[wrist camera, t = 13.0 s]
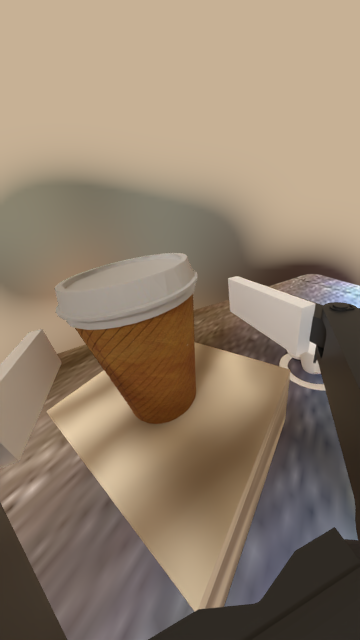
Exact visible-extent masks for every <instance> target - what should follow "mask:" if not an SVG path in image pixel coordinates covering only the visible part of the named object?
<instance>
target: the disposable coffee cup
mask: <svg viewBox="0 0 360 640" xmlns="http://www.w3.org/2000/svg"><path fill="white" fill-rule="evenodd" d="M196 282H197V273H196V271H194V270H192V268H191V265H190V263H189V260H188V258H187V256H186V255H185V254H182V253H164V254H155V255H149V256H143V257H137V258H132V259H127V260H123V261H119V262H115V263H111V264H107V265H104V266H101V267H97V268H94V269H91V270H88V271H85V272H82V273H80V274H77V275H74V276H72V277H70V278H67V279H66V280H64V281H62V282H60V283H59V284H58V285H56V287H55V291H56V296H57V300H58V304H59V305H58V306H57V307H56V313H57V314H58V316H59V317H60V318H62V319H64V320H66V321H67V323H68V324H69V325H70V326H72V327H75V329H76V330H77V331H78V333H79V334H80V336H81V338H82V339H83V341H84V342H85V343H86V345H87V346H88V348H89V349H90V350H91V352H92V353H93V355H94V356H95V358H96V359H97V360H98V362H99V364H100V365H101V366H102V368H103V369H104V370H105V372H106V374H107V375H108V376H109V377H110V379H111V381H112V382H113V384H114V385H115V387H116V388H117V390H118V391H119V392H120V394H121V395H122V397H123V398H124V400H125V401H126V402H127V404H128V405H129V407H130V408H131V410H132V411H133V413H134V414H135V416H136V417H137V418H138V419H140V420H141V421H144V422H147V423H151V424H162V423H166V422H170V421H172V420H175V419H177V418H178V417H180V416H181V415H182V414H184V413H185V412H186V411H187V410H188V409H189V407H190V406H191V405H192V403H193V401H194V399H195V396H196V375H195V343H194V314H193V292H194V290H195V283H196Z"/></svg>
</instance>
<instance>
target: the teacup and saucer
mask: <svg viewBox="0 0 360 640" xmlns="http://www.w3.org/2000/svg"><path fill="white" fill-rule="evenodd" d="M315 349H316V344H314V343H312V342H310V343H309V349H308V352H305V353H303V354H300V355H298V356H295V355H294V354H292V353H291V352H289V351H288V350H287V352H288V354H286V355H284V356H283V357H282V358H281V360H280V363H279V365H280V367H283V368H287V369H288V362H289V360H291V359H292V358H295V359H297V360H301V364H302V367H303V369H304V370H305V371H306V372H308V373H310V374H321V371H320V368H319V364H318V360H316V363H313V360H314V355H315ZM290 380H291V381H293V382H294V383H296V384H298V385H300V386H303V387H306V388H309V389H314V390H322V391H326V390H325V386H324V384H312V383H308V382H305V381H302V380H300V379H298V378H297V377H295V376H294V375H293V374H292V373H291V372H290Z"/></svg>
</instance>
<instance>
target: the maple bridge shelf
mask: <svg viewBox="0 0 360 640" xmlns="http://www.w3.org/2000/svg"><path fill="white" fill-rule="evenodd" d="M194 343H195V375H196V396H195V399H194V401H193V403H192V405H191V406H190V407H189V409H188V410H187V411H186V412H185V413H184V414H182V415H181V416H180V417H178V418H177V419H175V420H172V421H170V422H166V423H162V424H151V423H147V422H144V421H141V420H140V419H138V418H137V417H136V416H135V414H134V413H133V411H132V410H131V408H130V407H129V405H128V404H127V402H126V401H125V400H124V398H123V397H122V395H121V394H120V392H119V391H118V390H117V388H116V387H115V385H114V384H113V382H112V381H111V379H110V377H109V376H108V375H107V374H106V372H105V370H104V371H102V372H101V373H99V374H98V375H97V376H95V377H94V378H92V379H91V380H90V381H88V382H87V383H85V384H84V385H83V386H81V387H80V388H78V389H77V390H76V391H74V392H73V393H71V394H70V395H69V396H67V397H66V398H64V399H63V400H62V401H60V402H59V403H58V404H56V405H55V406H53V407H52V408H51V409H49V410H48V411H46V412H47V413H48V414H49V416H50V417H51V419H52V420H53V421H54V423H55V424H56V425H57V427H58V428H59V429H60V431H61V432H62V433H63V435H64V436H65V437H66V439H67V440H68V442H69V443H70V444H71V446H72V447H73V448H74V450H75V451H76V452H77V454H78V455H79V456H80V458H81V459H82V460H83V462H84V463H85V465H86V466H87V467H88V468H89V470H90V471H91V472H92V474H93V475H94V476H95V478H96V479H97V480H98V482H99V483H100V484H101V486H102V487H103V488H104V490H105V491H106V493H107V494H108V495H109V497H110V498H111V499H112V501H113V502H114V503H115V505H116V506H117V507H118V509H119V510H120V511H121V513H122V514H123V515H124V517H125V518H126V519H127V521H128V522H129V523H130V525H131V526H132V527H133V529H134V530H135V532H136V533H137V534H138V536H139V537H140V538H141V540H142V541H143V542H144V544H145V545H146V546H147V548H148V549H149V550H150V552H151V553H152V554H153V556H154V557H155V558H156V560H157V561H158V562H159V564H160V565H161V566H162V568H163V569H164V571H165V572H166V573H167V575H168V576H169V577H170V579H171V580H172V581H173V583H174V584H175V585H176V587H177V588H178V590H179V591H180V592H181V594H182V595H183V596H184V598H185V599H186V601H187V602H188V603H189V605H190V606H191V607H192V609H193V610H194V611H197V610H198V609H207V608H217V607H224V605H225V602H226V599H227V596H228V593H229V590H230V587H231V584H232V581H233V578H234V574H235V571H236V568H237V565H238V562H239V559H240V556H241V553H242V550H243V547H244V544H245V541H246V538H247V535H248V532H249V529H250V526H251V523H252V520H253V516H254V513H255V510H256V507H257V504H258V501H259V498H260V495H261V492H262V489H263V486H264V483H265V480H266V477H267V474H268V471H269V468H270V465H271V462H272V458H273V455H274V452H275V449H276V446H277V443H278V440H279V437H280V434H281V431H282V428H283V425H284V422H285V416H286V407H287V398H288V389H289V380H290V371H291V370H290V369H287V368H283V367H280V366H276V365H273V364H269V363H266V362H262V361H259V360H255V359H252V358H248V357H245V356H241V355H238V354H234V353H231V352H227V351H224V350H220V349H217V348H213V347H210V346H206V345H203V344H199V343H196V342H194Z"/></svg>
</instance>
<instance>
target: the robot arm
mask: <svg viewBox="0 0 360 640" xmlns="http://www.w3.org/2000/svg"><path fill="white" fill-rule="evenodd" d="M228 285H229V301H230V311H231V312H232V313H234V314H235V315H237V316H238V317H239V318H241V319H242V320H244V321H245V322H247V323H248V324H250V325H251V326H253V327H254V328H256V329H257V330H259V331H260V332H261V333H263V334H264V335H266V336H267V337H269V338H270V339H272V340H273V341H275V342H276V343H278V344H279V345H281V346H282V347H284V348H285V349H286V350H288V351H289V352H291V353H292V354H294V355H295V356H298V355H300V354H303V353H305V352H308V349H309V343H310V342H312V343H314V344H316V349H315V355H314V360H313V363H316V360H318V364H319V368H320V371H321V375H322V379H323V382H324V386H325V390H326V394H327V397H328V401H329V405H330V409H331V412H332V416H333V420H334V423H335V427H336V431H337V435H338V438H339V442H340V446H341V450H342V453H343V457H344V461H345V464H346V468H347V472H348V476H349V479H350V483H351V487H352V491H353V494H354V499H355V506H356V517H355V521H356V530H357V536H358V540H347V539H345V540H344V539H343V538H342V536H341V535H340V534H339V532H338V531H337V530H336V528H335V527H334V528H333V529H331V530H329V531H328V532H326V533H324V534H323V535H321V536H319V537H318V538H316V539H314V540H313V541H311V542H309V543H308V544H306V545H304V546H303V547H301V548H299V549H298V550H296V551H295V552H294V553H293V555H292V556H291V558H290V559H289V561H288V562H287V563H286V565H285V566H284V568H283V569H282V571H281V572H280V574H279V575H278V576H277V578H276V579H275V581H274V582H273V584H272V585H271V587H270V588H269V589H268V591H267V592H266V594H265V595H264V597H263V598H262V599H261V600H260V601H259V602H257V603H255V604H249V605H238V606H228V607H217V608H207V609H198V610H197V611H195V612H193V613H192V614H190V615H188V616H187V617H185V618H183V619H182V620H180V621H178V622H177V623H175V624H173V625H172V626H170V627H168V628H167V629H165V630H163V631H162V632H160V633H158V634H157V635H155V636H154V637H152V638H150V639H149V640H360V308H359V309H358V308H357V307H356V306H354V305H351V304H347V303H338V302H335V303H328V304H325V305H324V306H323V305H320V304H317V303H314V302H311V301H308V300H306V299H303V298H300V297H297V296H294V295H291V294H287V293H284V292H281V291H278V290H275V289H273V288H270V287H267V286H264V285H260V284H258V283H255V282H252V281H250V280H247V279H244V278H241V277H238V276H236V277H232V278H228ZM61 364H62V362H61V360H60V359H59V357H58V355H57V354H56V352H55V350H54V348H53V347H52V345H51V343H50V342H49V340H48V338H47V336H46V335H45V333H44V332H43V330H42V329H40V330H36V331H33V332H29V333H28V334H27V335H26V337H25V338H24V339H23V340H22V341H21V342H20V343H19V344H18V345H17V346H16V348H15V349H14V350H13V351H12V352H11V353H10V354H9V355H8V356H7V358H6V359H5V360H4V361H3V362H2V363H1V364H0V469H1V468H3V467H6V466H9V465H11V464H14V463H17V462H19V461H20V459H21V456H22V454H23V452H24V449H25V447H26V445H27V443H28V440H29V438H30V436H31V433H32V431H33V429H34V426H35V424H36V422H37V419H38V417H39V415H40V412H41V410H42V408H43V405H44V403H45V401H46V398H47V396H48V394H49V391H50V389H51V387H52V384H53V382H54V380H55V378H56V375H57V373H58V371H59V368H60V366H61ZM0 640H67V638H66V636H65V634H64V632H63V630H62V628H61V626H60V624H59V622H58V620H57V618H56V616H55V614H54V612H53V610H52V608H51V605H50V603H49V601H48V599H47V597H46V595H45V593H44V591H43V589H42V587H41V585H40V583H39V581H38V579H37V577H36V575H35V573H34V571H33V569H32V567H31V564H30V562H29V560H28V558H27V556H26V554H25V552H24V550H23V548H22V546H21V544H20V542H19V540H18V538H17V536H16V534H15V532H14V530H13V528H12V526H11V524H10V521H9V519H8V517H7V515H6V513H5V511H4V509H3V507H2V505H1V503H0Z"/></svg>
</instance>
